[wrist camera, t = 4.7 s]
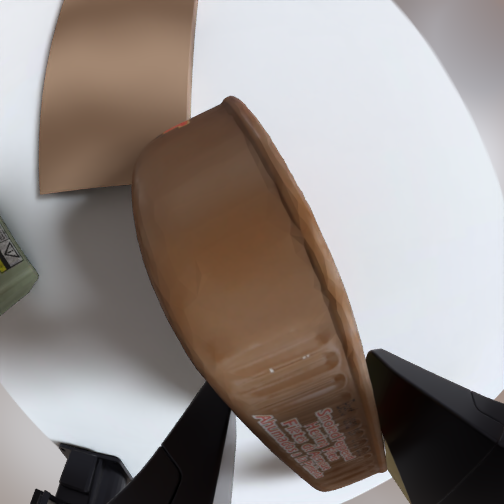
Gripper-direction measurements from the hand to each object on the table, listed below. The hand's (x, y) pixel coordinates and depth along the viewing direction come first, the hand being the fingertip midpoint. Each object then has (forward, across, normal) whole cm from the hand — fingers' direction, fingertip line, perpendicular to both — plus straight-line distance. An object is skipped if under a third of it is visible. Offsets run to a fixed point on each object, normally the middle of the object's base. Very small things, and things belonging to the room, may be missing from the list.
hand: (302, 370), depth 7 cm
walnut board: (+6, +7, -13) cm, 16 cm away
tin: (+6, 0, 0) cm, 6 cm away
